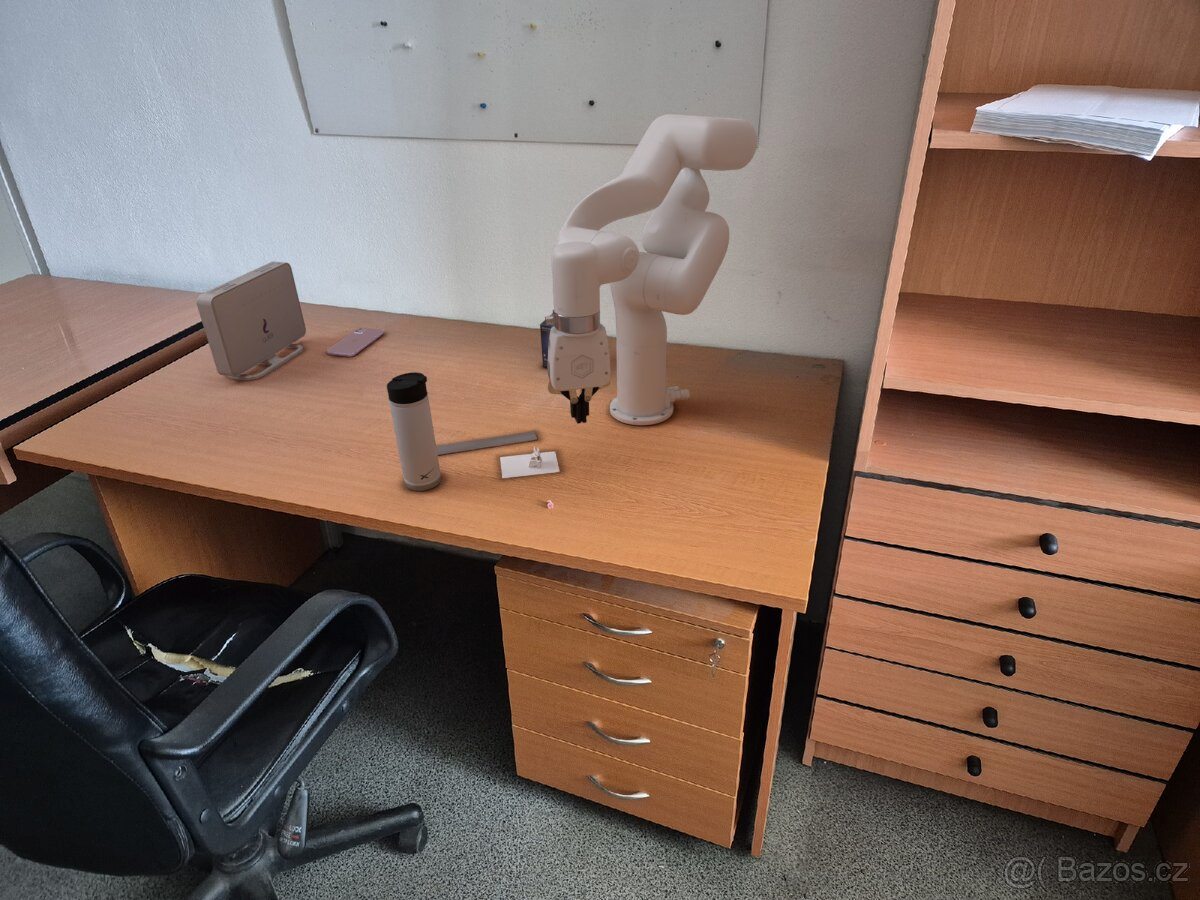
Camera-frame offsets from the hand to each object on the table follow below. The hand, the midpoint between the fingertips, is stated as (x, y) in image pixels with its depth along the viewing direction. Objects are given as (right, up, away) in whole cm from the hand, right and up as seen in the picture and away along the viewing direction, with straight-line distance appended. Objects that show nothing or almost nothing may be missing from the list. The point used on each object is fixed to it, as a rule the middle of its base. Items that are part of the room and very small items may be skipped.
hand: (580, 419), depth 136 cm
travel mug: (-27, -11, -1) cm, 29 cm away
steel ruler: (-18, -4, +9) cm, 21 cm away
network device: (-73, +15, +44) cm, 87 cm away
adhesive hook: (-9, -8, +3) cm, 12 cm away
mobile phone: (-55, +20, +51) cm, 78 cm away
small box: (-3, +13, +37) cm, 40 cm away
